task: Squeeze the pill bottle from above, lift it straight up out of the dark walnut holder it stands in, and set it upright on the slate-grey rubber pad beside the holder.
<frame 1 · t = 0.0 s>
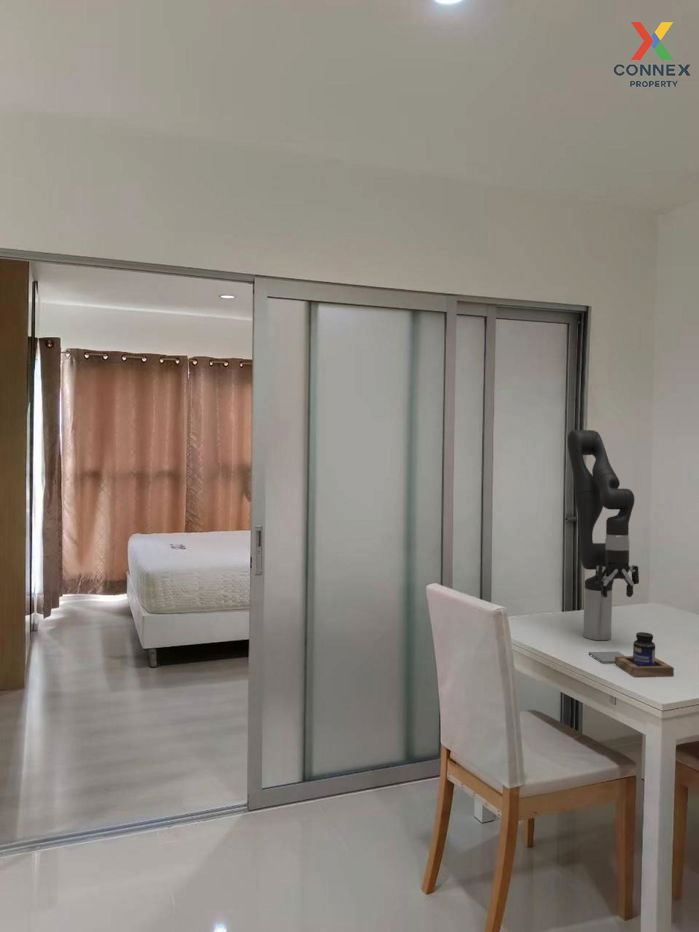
hand: (616, 596, 240), 17 cm above the table, tool pointing down, fingers open, 8 cm apart
walnut holder: (643, 670, 216), on the table
grey pad: (610, 658, 228), on the table
pill bottle: (643, 671, 216), resting in walnut holder
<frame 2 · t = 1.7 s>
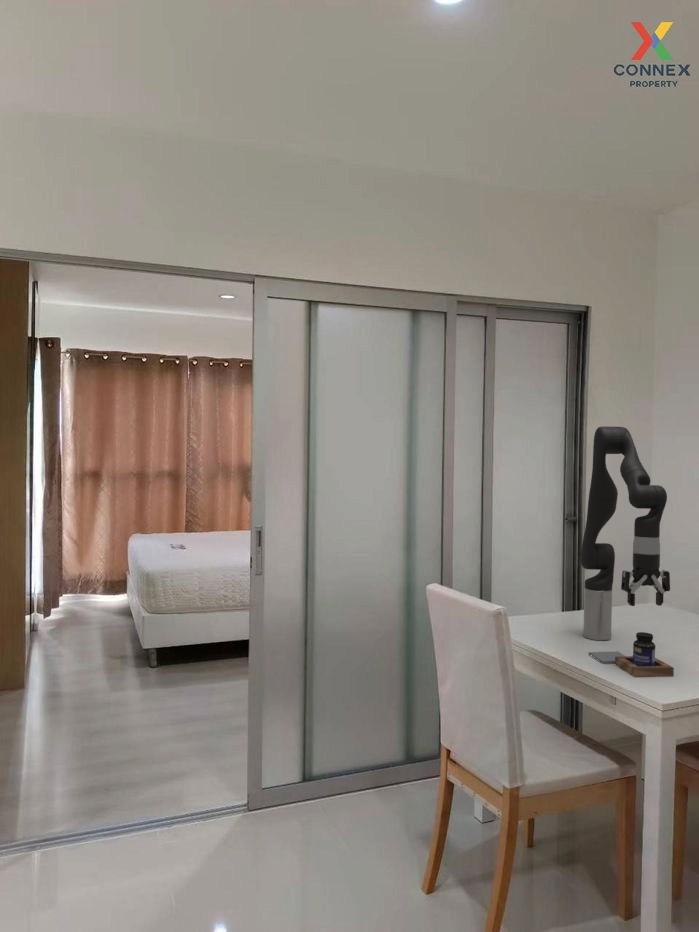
hand: (645, 605, 216), 20 cm above the table, tool pointing down, fingers open, 8 cm apart
nothing on the table moved.
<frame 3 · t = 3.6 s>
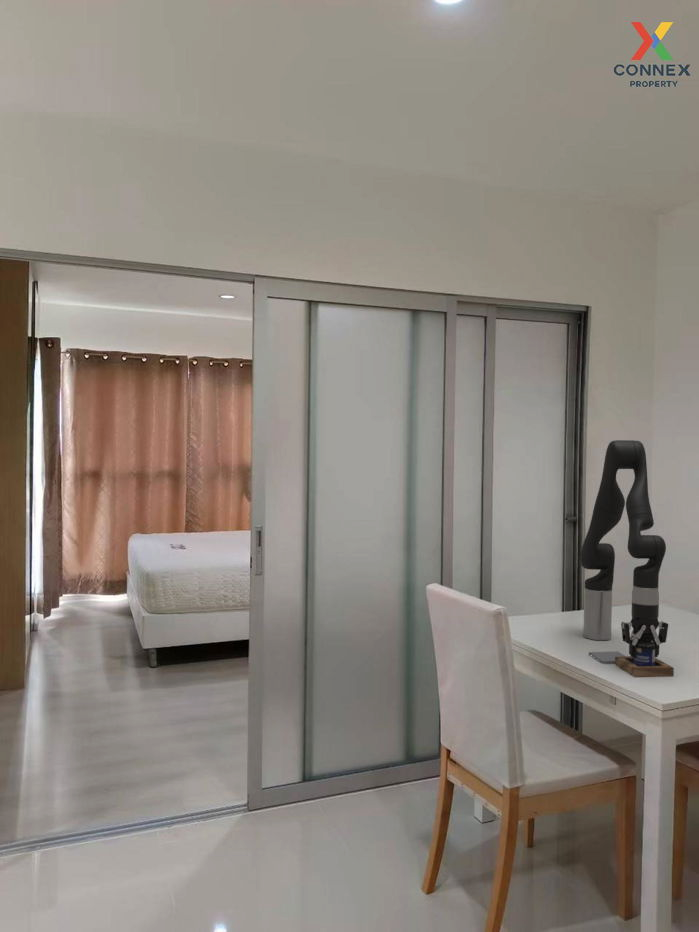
hand: (643, 656, 216), 4 cm above the table, tool pointing down, fingers closed on pill bottle, 6 cm apart
pill bottle: (643, 671, 216), resting in walnut holder, touching gripper
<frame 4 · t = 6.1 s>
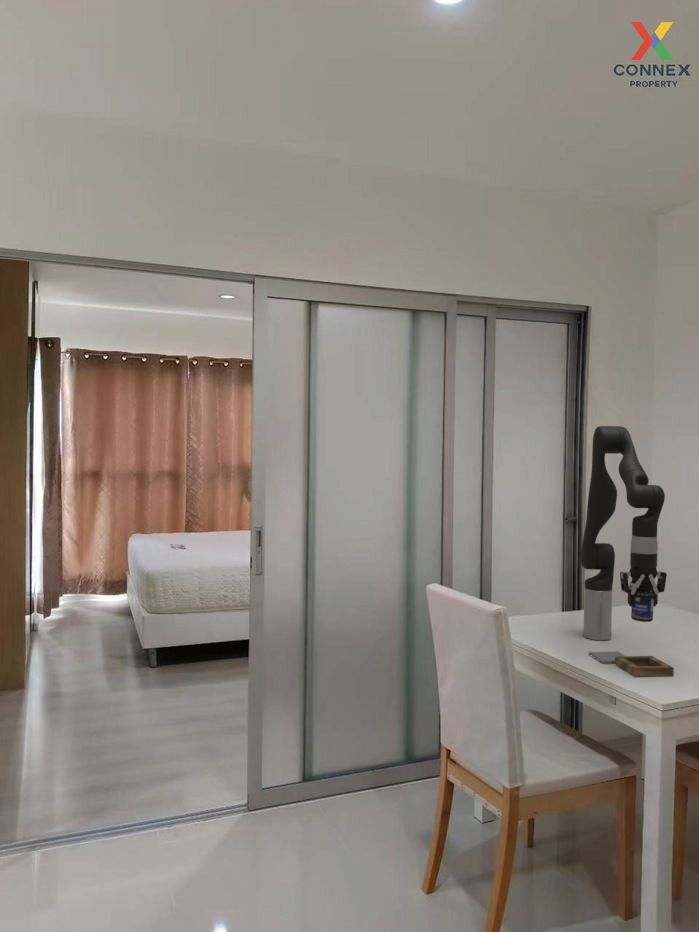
hand: (642, 606, 217), 19 cm above the table, tool pointing down, fingers closed on pill bottle, 6 cm apart
pill bottle: (642, 620, 217), point 15 cm above the table, touching gripper
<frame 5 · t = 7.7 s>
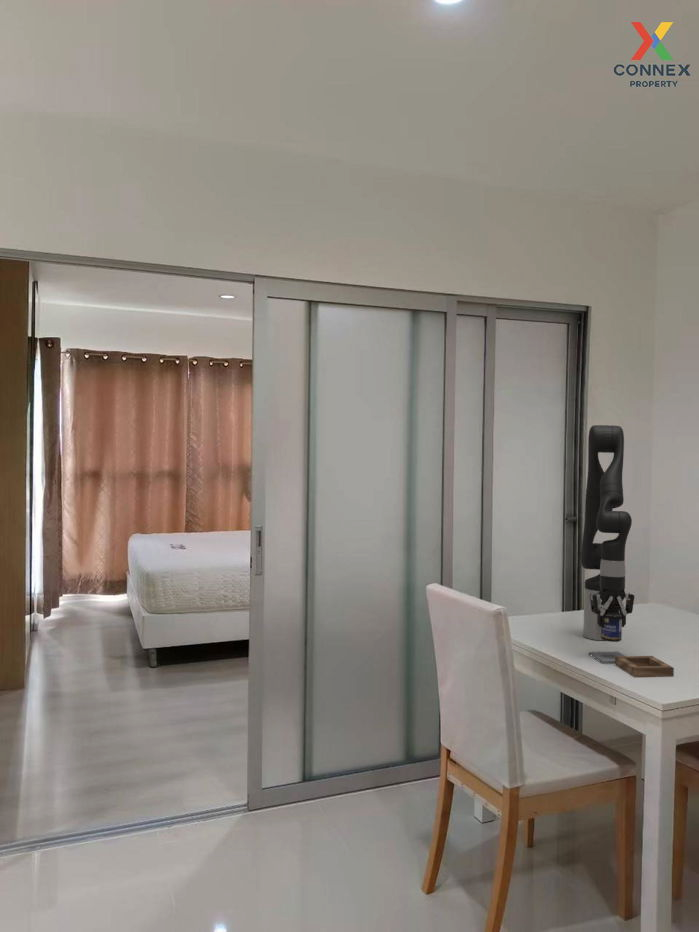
hand: (611, 626, 227), 10 cm above the table, tool pointing down, fingers closed on pill bottle, 6 cm apart
pill bottle: (611, 640, 227), point 6 cm above the table, touching gripper
when the fingers open (6 cm above the table, at t = 9.1 s): pill bottle drops 1 cm, resting on grey pad.
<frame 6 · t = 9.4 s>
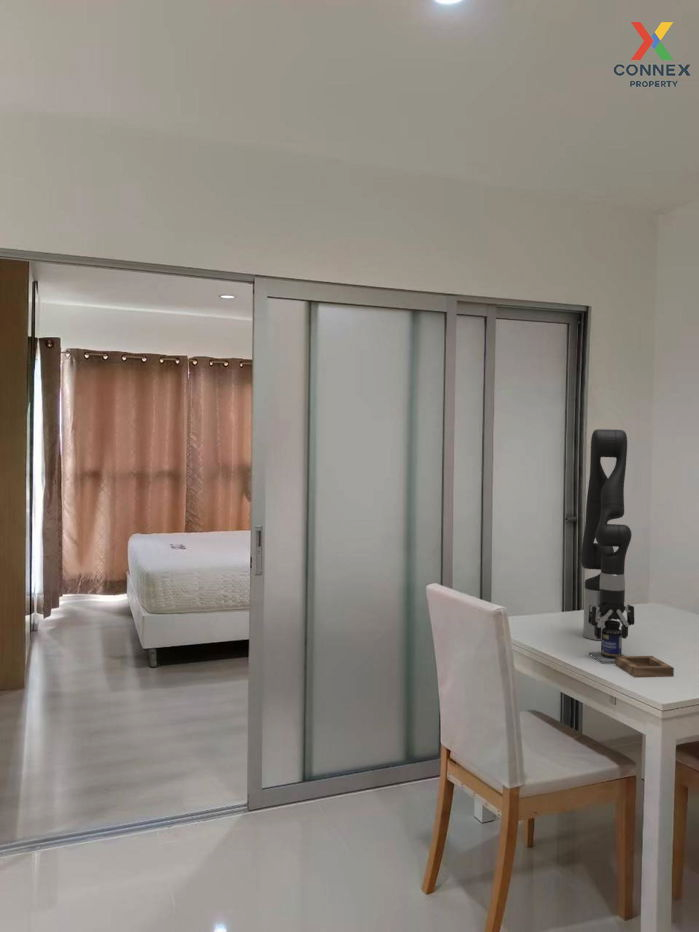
hand: (610, 638, 227), 7 cm above the table, tool pointing down, fingers open, 8 cm apart
pill bottle: (611, 656, 228), point 1 cm above the table, touching grey pad
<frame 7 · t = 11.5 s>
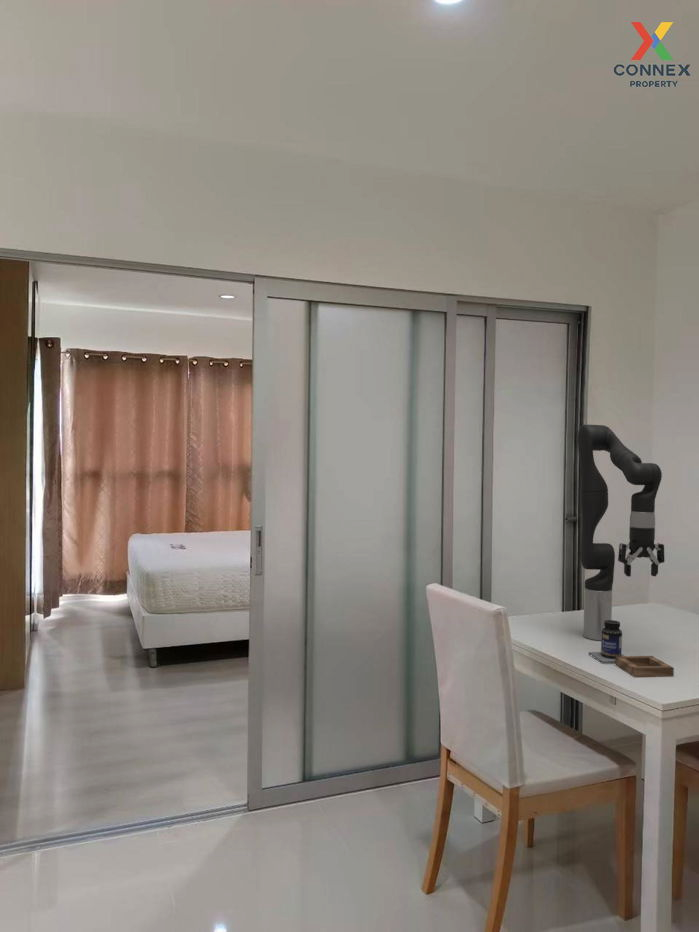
hand: (640, 576, 230), 26 cm above the table, tool pointing down, fingers open, 8 cm apart
nothing on the table moved.
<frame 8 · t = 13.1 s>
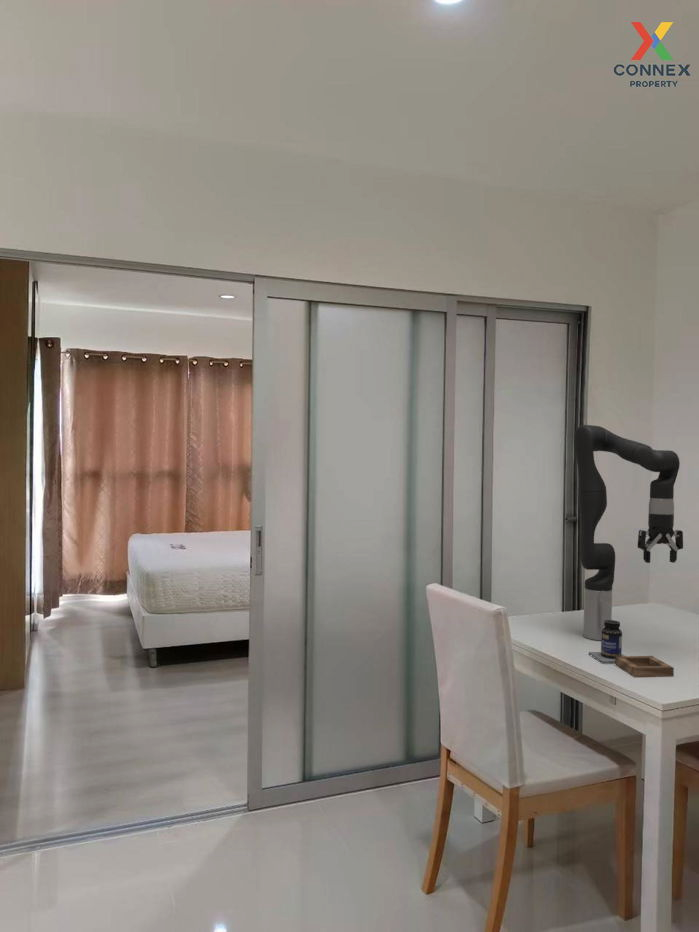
hand: (659, 562, 232), 30 cm above the table, tool pointing down, fingers open, 8 cm apart
nothing on the table moved.
at the end: pill bottle inside the target area on the grey pad (0.3 cm from its centre), point 0.6 cm above the grey pad's base; pill bottle tilted 0°; the gripper is holding nothing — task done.
